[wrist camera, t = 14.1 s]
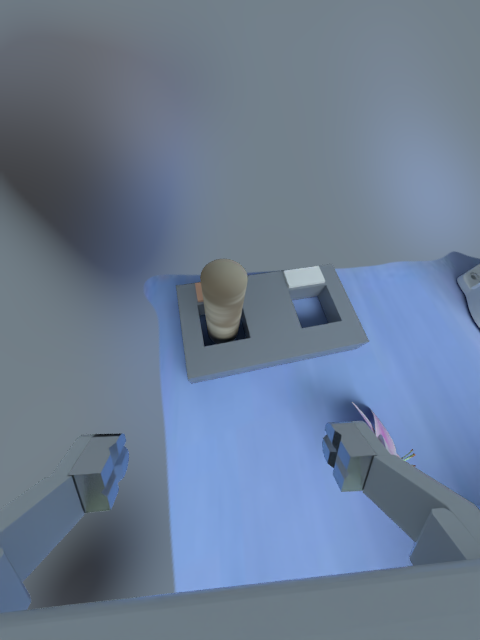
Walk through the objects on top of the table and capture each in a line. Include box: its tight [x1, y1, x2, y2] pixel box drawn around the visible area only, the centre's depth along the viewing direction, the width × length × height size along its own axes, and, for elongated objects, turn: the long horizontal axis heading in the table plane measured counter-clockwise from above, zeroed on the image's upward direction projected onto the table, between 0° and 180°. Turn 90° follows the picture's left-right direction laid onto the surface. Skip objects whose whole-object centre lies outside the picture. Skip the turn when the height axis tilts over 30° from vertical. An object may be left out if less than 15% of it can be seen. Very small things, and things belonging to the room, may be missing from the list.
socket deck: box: [176, 264, 369, 384], centre depth 29 cm, size 22×12×3 cm, turn 103°
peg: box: [200, 259, 248, 344], centre depth 25 cm, size 4×4×12 cm
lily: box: [352, 402, 415, 466], centre depth 22 cm, size 12×12×10 cm
